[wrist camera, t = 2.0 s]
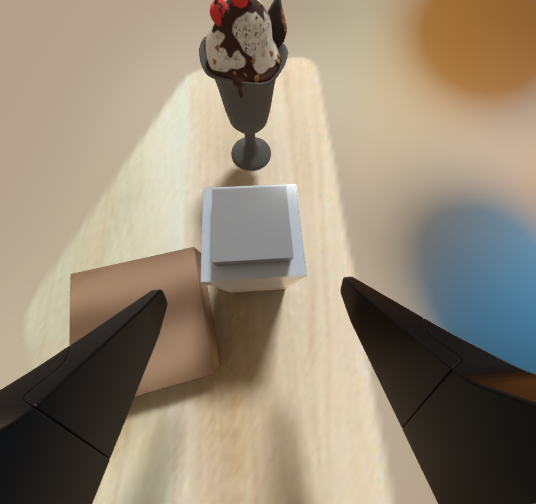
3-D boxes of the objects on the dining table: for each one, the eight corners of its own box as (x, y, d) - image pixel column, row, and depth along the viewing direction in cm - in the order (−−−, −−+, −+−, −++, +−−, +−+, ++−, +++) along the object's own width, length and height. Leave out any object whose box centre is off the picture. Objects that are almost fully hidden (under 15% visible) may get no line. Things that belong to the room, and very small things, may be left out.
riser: (220, 362, 18) (213, 374, 15) (100, 396, 17) (68, 414, 14) (203, 254, 21) (193, 247, 18) (98, 278, 20) (70, 274, 17)
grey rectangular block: (285, 288, 20) (311, 272, 9) (231, 292, 20) (194, 279, 9) (280, 238, 21) (299, 173, 11) (230, 240, 21) (197, 176, 10)
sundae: (218, 171, 23) (146, -48, 9) (232, 128, 25) (190, -113, 11) (271, 181, 23) (288, -25, 9) (281, 137, 25) (308, -95, 10)
